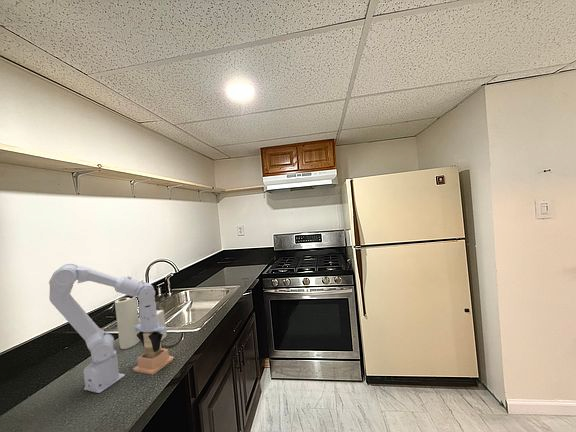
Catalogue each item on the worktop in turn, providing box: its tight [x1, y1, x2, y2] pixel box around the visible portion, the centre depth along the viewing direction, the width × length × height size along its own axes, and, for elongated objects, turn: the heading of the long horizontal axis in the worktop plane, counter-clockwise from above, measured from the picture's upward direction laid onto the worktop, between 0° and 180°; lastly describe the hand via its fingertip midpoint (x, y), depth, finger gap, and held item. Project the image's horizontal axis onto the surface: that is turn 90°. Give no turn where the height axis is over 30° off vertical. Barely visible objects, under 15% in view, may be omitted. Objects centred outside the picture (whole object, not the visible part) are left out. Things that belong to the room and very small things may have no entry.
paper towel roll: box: [114, 296, 141, 350], centre depth 120 cm, size 7×6×21 cm
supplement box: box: [157, 309, 168, 342], centre depth 124 cm, size 7×7×13 cm
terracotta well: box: [132, 347, 175, 376], centre depth 103 cm, size 10×10×4 cm
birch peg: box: [143, 332, 163, 359], centre depth 103 cm, size 4×4×10 cm
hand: (152, 349), depth 102 cm, fingers closed on birch peg, 4 cm apart
